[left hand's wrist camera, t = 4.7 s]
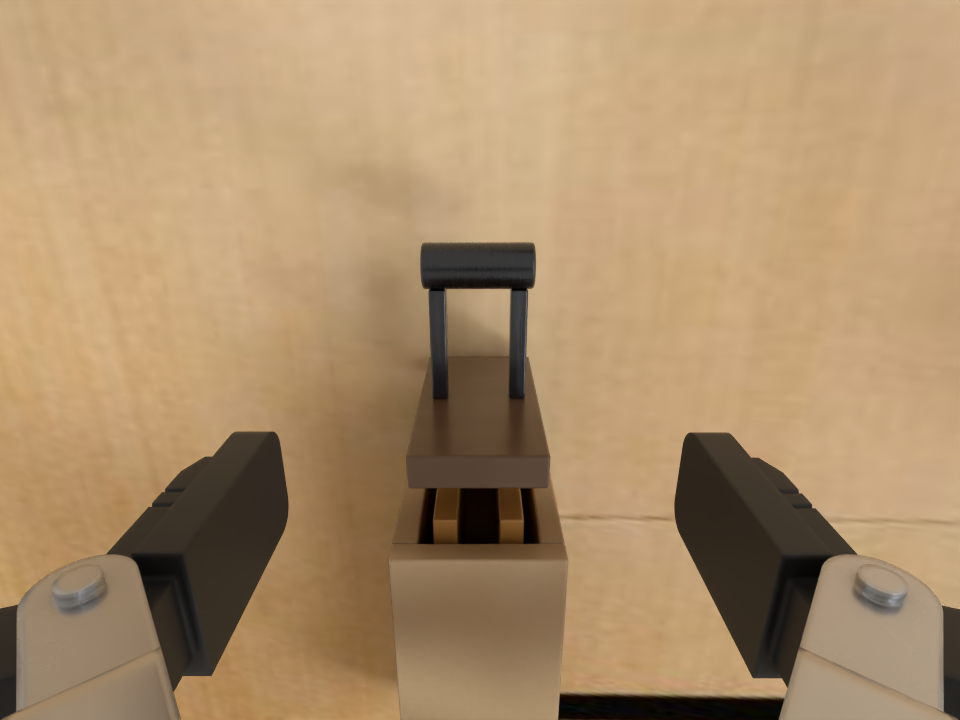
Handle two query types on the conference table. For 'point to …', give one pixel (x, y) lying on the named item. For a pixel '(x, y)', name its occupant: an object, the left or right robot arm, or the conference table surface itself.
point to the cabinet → (478, 616)
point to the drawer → (478, 404)
